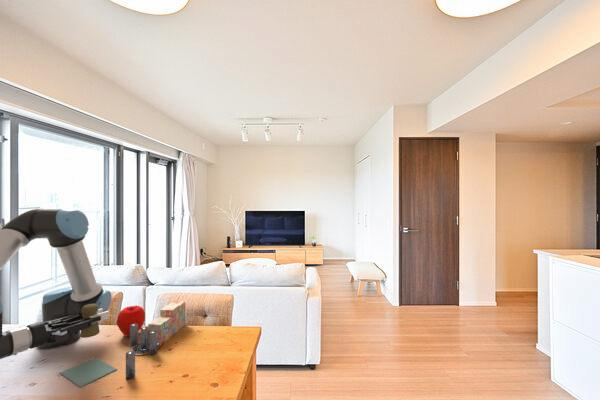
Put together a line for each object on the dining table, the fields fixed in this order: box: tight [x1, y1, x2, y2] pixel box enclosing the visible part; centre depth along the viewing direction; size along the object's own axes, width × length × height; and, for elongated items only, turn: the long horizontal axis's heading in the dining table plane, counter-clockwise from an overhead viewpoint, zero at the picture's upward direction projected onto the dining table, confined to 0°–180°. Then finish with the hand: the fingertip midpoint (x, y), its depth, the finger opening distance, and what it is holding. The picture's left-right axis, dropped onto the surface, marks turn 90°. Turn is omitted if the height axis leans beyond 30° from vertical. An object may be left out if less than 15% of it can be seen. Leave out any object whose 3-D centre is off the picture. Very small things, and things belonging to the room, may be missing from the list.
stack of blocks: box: [147, 300, 186, 345], centre depth 140 cm, size 21×6×12 cm, turn 173°
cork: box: [80, 304, 100, 339], centre depth 110 cm, size 6×6×11 cm
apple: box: [116, 305, 146, 337], centre depth 139 cm, size 12×12×13 cm
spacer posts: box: [125, 323, 158, 381], centre depth 118 cm, size 25×18×9 cm
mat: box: [59, 356, 118, 388], centre depth 109 cm, size 16×12×1 cm
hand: (105, 313), depth 114 cm, fingers closed on cork, 4 cm apart
